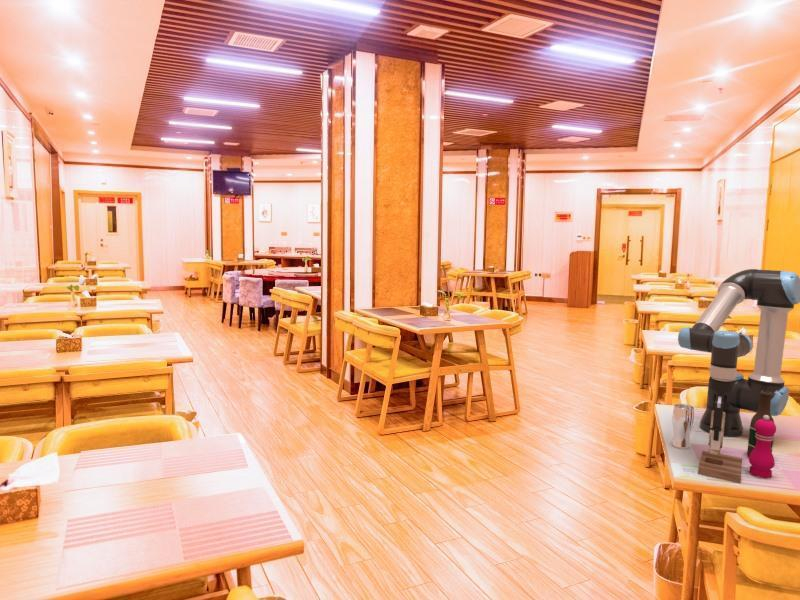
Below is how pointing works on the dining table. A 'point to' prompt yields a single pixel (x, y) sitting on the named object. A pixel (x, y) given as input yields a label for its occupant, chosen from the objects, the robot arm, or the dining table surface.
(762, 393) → the beer bottle
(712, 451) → the peg
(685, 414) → the beer glass
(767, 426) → the pepper mill
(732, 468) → the board
